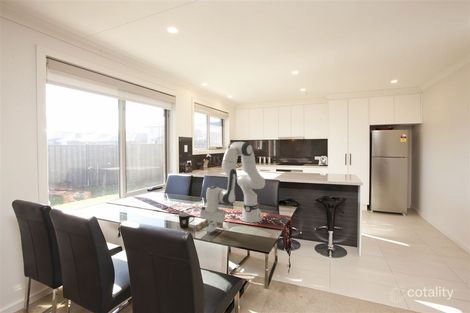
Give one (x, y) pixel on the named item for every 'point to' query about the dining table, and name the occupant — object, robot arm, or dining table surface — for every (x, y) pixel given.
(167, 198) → the dining table surface
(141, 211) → the dining table surface
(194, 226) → the corner walls
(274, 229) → the dining table surface
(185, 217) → the coffee mug
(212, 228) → the bracket
